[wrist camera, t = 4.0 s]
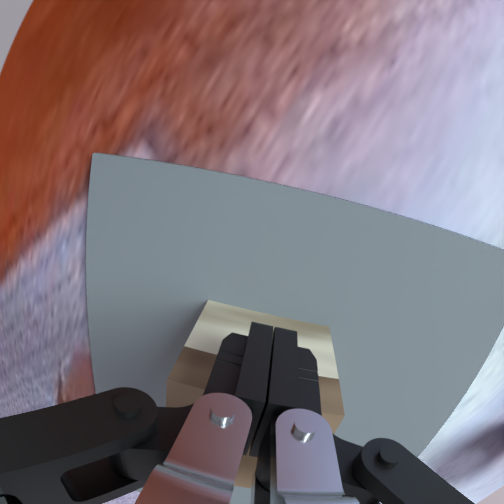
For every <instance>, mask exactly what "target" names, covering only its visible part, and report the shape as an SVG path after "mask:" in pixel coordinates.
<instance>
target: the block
mask: <svg viewBox="0 0 504 504" xmlns="http://www.w3.org/2000/svg"><path fill="white" fill-rule="evenodd" d="M251 322H257V323H261V324H266V325H270V326H273V330H274V328H275V327H280V328H284V329H289V330H294V331H297V340H298V347H302V348H307V349H310V350H311V352H312V353H313V355H314V356H315V358H316V359H317V367H318V372H317V373H318V378H319V380H318V382H319V389H320V400H321V412H322V417H323V418H324V419H325V420H327V422H328V423H329V425H330V427H331V429H332V433H333V434H334V433H335V432H336V430H337V428H338V427H339V425H340V423H341V421H342V420H343V418H344V416H345V414H344V407H343V401H342V395H341V389H340V383H339V377H338V371H337V366H336V360H335V355H334V349H333V344H332V339H331V333H330V328H329V327H328V326H323V325H318V324H313V323H308V322H303V321H298V320H293V319H289V318H284V317H279V316H275V315H270V314H266V313H261V312H257V311H252V310H248V309H244V308H239V307H235V306H231V305H227V304H223V303H219V302H214V301H210V300H208V301H207V303H206V305H205V307H204V309H203V311H202V313H201V315H200V317H199V319H198V320H197V322H196V324H195V326H194V328H193V330H192V332H191V334H190V336H189V338H188V340H187V341H186V343H185V345H184V347H183V349H182V351H181V353H180V355H179V357H178V359H177V361H176V363H175V365H174V367H173V368H172V370H171V372H170V374H169V376H168V378H167V390H166V407H184V406H188V405H191V404H193V403H195V401H196V400H197V399H198V398H200V397H201V396H202V395H203V393H204V391H205V388H206V385H207V383H208V380H209V377H210V374H211V371H212V368H213V365H214V363H215V360H216V357H217V354H218V352H219V348H220V345H221V343H222V340H223V339H224V338H225V337H227V336H228V335H229V334H231V333H232V332H233V333H237V334H241V335H246V336H248V334H249V330H250V326H251ZM249 451H250V447H249V450H248V452H247V455H243V456H242V459H241V462H240V465H239V468H238V472H237V475H236V479H235V482H234V486H239V487H244V488H250V489H251V483H252V476H253V474H254V472H255V470H256V466H257V458H258V457H253V456H249Z"/></svg>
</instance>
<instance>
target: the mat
mask: <svg viewBox="0 0 504 504" xmlns="http://www.w3.org/2000/svg"><path fill="white" fill-rule="evenodd" d="M86 296H87V316H88V330H89V342H90V352H91V361H92V369H93V377H94V384H95V391H96V394H98V393H101V392H104V391H108V390H111V389H114V388H119V387H130V388H135V389H138V390H141V391H143V392H145V393H147V394H148V395H149V396H150V397H151V398H152V399H153V400H154V401H155V403H156V405H157V407H166V390H167V378H168V376H169V374H170V372H171V370H172V368H173V367H174V365H175V363H176V361H177V359H178V357H179V355H180V353H181V351H182V349H183V347H184V345H185V343H186V341H187V340H188V338H189V336H190V334H191V332H192V330H193V328H194V326H195V324H196V322H197V320H198V319H199V317H200V315H201V313H202V311H203V309H204V307H205V305H206V303H207V301H208V300H210V301H214V302H219V303H223V304H227V305H231V306H235V307H239V308H244V309H248V310H252V311H257V312H261V313H266V314H270V315H275V316H279V317H284V318H289V319H293V320H298V321H303V322H308V323H313V324H318V325H323V326H328V327H329V328H330V333H331V339H332V344H333V349H334V355H335V360H336V366H337V371H338V377H339V383H340V389H341V395H342V401H343V407H344V414H345V416H344V418H343V420H342V421H341V423H340V425H339V427H338V428H337V430H336V432H335V433H334V435H335V436H337V437H339V438H341V439H343V440H345V441H348V442H351V443H354V444H357V445H360V446H363V447H364V445H365V444H366V443H367V442H368V441H370V440H372V439H375V438H388V439H392V440H394V441H396V442H398V443H400V444H401V445H403V446H404V447H405V448H406V449H407V450H409V451H410V452H411V453H412V454H413V455H415V456H416V457H418V456H419V455H420V454H421V452H422V451H423V450H424V449H425V448H426V446H427V445H428V444H429V443H430V441H431V440H432V439H433V438H434V436H435V435H436V434H437V433H438V431H439V430H440V429H441V427H442V426H443V425H444V423H445V422H446V421H447V419H448V418H449V417H450V415H451V414H452V412H453V411H454V409H455V408H456V407H457V405H458V404H459V402H460V401H461V399H462V398H463V396H464V395H465V393H466V392H467V390H468V389H469V387H470V385H471V384H472V382H473V381H474V379H475V377H476V376H477V374H478V372H479V371H480V369H481V367H482V366H483V364H484V362H485V360H486V359H487V357H488V355H489V353H490V351H491V350H492V348H493V346H494V344H495V342H496V340H497V338H498V336H499V334H500V332H501V330H502V328H503V326H504V250H503V249H501V248H498V247H495V246H493V245H490V244H487V243H484V242H481V241H479V240H476V239H473V238H470V237H467V236H464V235H461V234H458V233H455V232H452V231H449V230H446V229H443V228H440V227H437V226H434V225H430V224H427V223H424V222H421V221H418V220H414V219H411V218H408V217H404V216H401V215H398V214H394V213H391V212H387V211H384V210H380V209H377V208H373V207H369V206H366V205H362V204H358V203H355V202H351V201H347V200H343V199H339V198H336V197H332V196H328V195H324V194H320V193H315V192H311V191H307V190H303V189H299V188H294V187H290V186H286V185H281V184H277V183H272V182H268V181H263V180H258V179H254V178H249V177H244V176H239V175H234V174H229V173H224V172H219V171H213V170H208V169H202V168H197V167H191V166H185V165H180V164H174V163H167V162H161V161H155V160H148V159H141V158H135V157H127V156H120V155H112V154H105V153H93V155H92V163H91V172H90V182H89V194H88V209H87V229H86ZM233 487H234V489H233V493H232V496H231V500H230V503H229V504H250V503H251V489H250V488H244V487H239V486H233ZM142 489H143V487H142V488H140V489H137V490H136V491H139V492H141V491H142Z"/></svg>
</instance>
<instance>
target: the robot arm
mask: <svg viewBox="0 0 504 504" xmlns="http://www.w3.org/2000/svg"><path fill="white" fill-rule="evenodd" d="M317 372H318V367H317V359H316V358H315V356H314V355H313V353H312V352H311V350H310V349H307V348H302V347H298V340H297V331H294V330H289V329H284V328H280V327H275V328H274V330H273V326H270V325H266V324H261V323H257V322H251V326H250V330H249V334H248V336H246V335H241V334H237V333H233V332H232V333H231V334H229V335H228V336H227V337H225V338H224V339H223V340H222V343H221V345H220V348H219V352H218V354H217V357H216V360H215V363H214V365H213V368H212V371H211V374H210V377H209V380H208V383H207V385H206V388H205V391H204V393H203V395H202V396H201V397H200V398H198V399H197V400H196V401H195V403H193V404H191V405H188V406H184V407H157V405H156V403H155V401H154V400H153V399H152V398H151V397H150V396H149V395H148V394H147V393H145V392H143V391H141V390H138V389H135V388H130V387H119V388H114V389H111V390H108V391H104V392H101V393H98V394H94V395H91V396H87V397H84V398H80V399H77V400H73V401H70V402H66V403H62V404H58V405H55V406H51V407H47V408H43V409H39V410H35V411H31V412H26V413H22V414H18V415H13V416H9V417H4V418H0V504H102V503H105V502H108V501H110V500H113V499H115V498H118V497H121V496H123V495H125V494H128V493H130V492H133V491H135V490H137V489H140V488H142V487H143V489H142V491H141V493H140V495H139V496H138V498H137V500H136V502H135V504H229V503H230V500H231V496H232V493H233V489H234V487H233V486H234V482H235V479H236V475H237V472H238V468H239V465H240V462H241V459H242V456H243V455H247V452H248V450H249V447H250V451H249V456H253V457H258V458H257V466H256V470H255V472H254V474H253V476H252V483H251V503H250V504H380V503H379V502H381V503H382V504H474V503H473V502H472V501H470V500H469V499H468V498H467V497H465V496H464V495H463V494H461V493H460V492H459V491H458V490H456V489H455V488H454V487H453V486H451V485H450V484H449V483H448V482H446V481H445V480H444V479H443V478H441V477H440V476H439V475H438V474H436V473H435V472H434V471H433V470H431V469H430V468H429V467H428V466H427V465H425V464H424V463H423V462H422V461H421V460H419V459H418V458H417V457H416V456H415V455H413V454H412V453H411V452H410V451H409V450H407V449H406V448H405V447H404V446H403V445H401V444H400V443H398V442H396V441H394V440H392V439H388V438H375V439H372V440H370V441H368V442H367V443H366V444H365V445H364V447H363V446H360V445H357V444H354V443H351V442H348V441H345V440H343V439H341V438H339V437H337V436H335V435H334V434H333V433H332V429H331V427H330V425H329V423H328V422H327V420H325V419H324V418H323V417H322V412H321V400H320V389H319V382H318V380H319V378H318V373H317Z"/></svg>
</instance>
